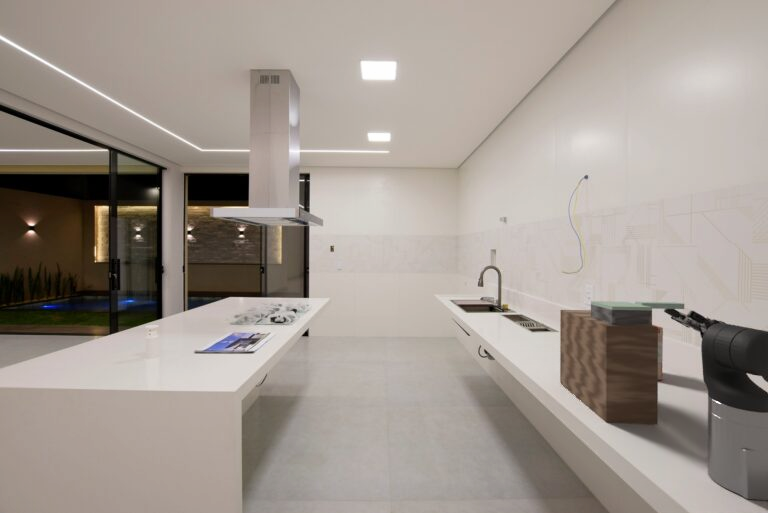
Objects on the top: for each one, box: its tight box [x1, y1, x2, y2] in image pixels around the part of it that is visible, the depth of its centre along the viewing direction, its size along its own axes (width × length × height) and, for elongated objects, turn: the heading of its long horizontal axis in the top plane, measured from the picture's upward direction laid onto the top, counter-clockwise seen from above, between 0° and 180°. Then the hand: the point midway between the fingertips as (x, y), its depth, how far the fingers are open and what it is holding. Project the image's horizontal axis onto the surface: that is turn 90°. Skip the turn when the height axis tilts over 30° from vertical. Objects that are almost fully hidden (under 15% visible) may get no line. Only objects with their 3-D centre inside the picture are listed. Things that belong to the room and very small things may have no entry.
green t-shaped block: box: [590, 300, 685, 312], centre depth 98 cm, size 11×23×3 cm, turn 85°
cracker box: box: [652, 324, 664, 381], centre depth 130 cm, size 14×6×21 cm, turn 168°
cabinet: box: [559, 303, 659, 426], centre depth 105 cm, size 28×14×32 cm, turn 175°
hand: (677, 310), depth 97 cm, fingers open, 8 cm apart
